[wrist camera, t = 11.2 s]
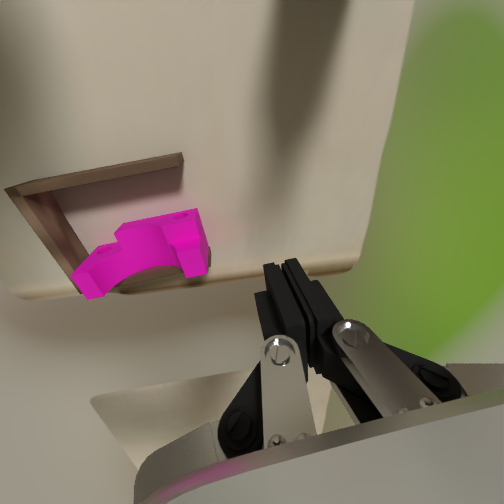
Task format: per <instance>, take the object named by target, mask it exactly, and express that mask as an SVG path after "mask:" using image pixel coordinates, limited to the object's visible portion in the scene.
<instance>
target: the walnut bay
mask: <svg viewBox="0 0 504 504" xmlns="http://www.w3.org/2000/svg"><path fill="white" fill-rule="evenodd" d="M183 161H184V159H183V155H182V152H180V153H175V154H169V155H164V156H159V157H154V158H148V159H143V160H138V161H132V162H127V163H122V164H117V165H111V166H106V167H101V168H96V169H90V170H85V171H80V172H75V173H69V174H64V175H59V176H53V177H48V178H43V179H38V180H32V181H29V182H25V183H22V184H19V185H15V186H12V187H9V188H5V189H4V190H5V192H6V193H7V194H8V196H9V197H10V198H11V200H12V201H13V203H14V204H15V205H16V207H17V208H18V209H19V211H20V212H21V214H22V215H23V216H24V218H25V219H26V220H27V222H28V223H29V225H30V226H31V227H32V229H33V230H34V231H35V233H36V234H37V236H38V237H39V238H40V240H41V241H42V242H43V244H44V245H45V246H46V248H47V249H48V251H49V252H50V253H51V255H52V256H53V257H54V259H55V260H56V262H57V263H58V264H59V266H60V267H61V268H62V270H63V271H64V273H65V274H66V275H67V277H68V278H69V279H70V281H71V282H72V283H73V285H74V286H75V288H76V289H77V290H78V292H79V293H80V294H83V293H82V292H81V290H80V289H79V288H78V286H77V285H76V283H75V282H74V281H73V279H72V278H71V277H70V275H71V274H72V273H73V272H74V271H75V270H76V269H77V268H78V267H79V266H80V265H81V264H82V263H83V262H84V261H85V260H86V258H87V257H88V256H89V254H88V253H87V251H86V249H85V248H84V246H83V245H82V243H81V242H80V240H79V238H78V237H77V235H76V234H75V232H74V230H73V229H72V227H71V226H70V224H69V222H68V221H67V219H66V218H65V216H64V215H63V213H62V211H61V210H60V208H59V207H58V205H57V203H56V202H55V200H54V199H53V197H52V195H51V194H50V192H49V191H51V190H56V189H61V188H67V187H72V186H77V185H82V184H87V183H93V182H98V181H103V180H108V179H113V178H119V177H124V176H129V175H134V174H139V173H145V172H150V171H155V170H160V169H165V168H171V167H176V166H180V165H181V164H182V163H183ZM210 266H211V250H210V247H209V251H208V267H210ZM182 272H184V271H183V270H182V269H181V268H179V267H176V266H168V265H165V266H156V267H152V268H148V269H145V270H142V271H139V272H137V273H135V274H133V275H131V276H129V277H127V278H125V279H123V280H122V281H120V282H119V283H118V284H116V285H115V286H114V287H116V286H121V285H126V284H130V283H135V282H140V281H145V280H149V279H154V278H159V277H163V276H168V275H173V274H177V273H182Z"/></svg>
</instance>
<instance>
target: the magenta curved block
mask: <svg viewBox="0 0 504 504" xmlns="http://www.w3.org/2000/svg"><path fill="white" fill-rule="evenodd" d="M114 235H115V237H116V239H117V240H118V242H115V243H110V244H105V245H101V246H98V247H97V248H96V249H95V250H94V251H93V252H92V253H91V254H90V255H89V256H88V257H87V258H86V260H85V261H84V262H83V263H82V264H81V265H80V266H79V267H78V268H77V269H76V270H75V271H74V272H73V273H72V274H71V275H70V277H71V278H72V279H73V281H74V282H75V283H76V285H77V286H78V288H79V289H80V290H81V292H82V293H83V294H84V296H85V297H86V298H87V300H89V299H94V298H98V297H103V296H105V294H106V293H107V292H108V291H109V290H110V289H111V288H112V287H114V286H115V285H116V284H118V283H119V282H120V281H122V280H123V279H125V278H127V277H129V276H131V275H133V274H135V273H137V272H139V271H142V270H145V269H148V268H152V267H156V266H165V265H168V266H176V267H179V268H181V269H182V270H183V271H184V274H185V276H186V278H190V277H195V276H199V275H204V274H207V270H208V251H209V246H208V242H207V239H206V236H205V232H204V229H203V226H202V223H201V219H200V216H199V213H198V209H197V208H195V209H190V210H186V211H181V212H176V213H171V214H166V215H161V216H156V217H151V218H147V219H142V220H137V221H132V222H127V223H123V224H122V225H121V226H120V227H119V228H118V229H117V231H116V232H115V233H114Z"/></svg>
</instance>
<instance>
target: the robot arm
mask: <svg viewBox="0 0 504 504" xmlns="http://www.w3.org/2000/svg"><path fill="white" fill-rule="evenodd" d="M263 268H264V275H265V282H266V289H267V291H262V292H258V293H254V295H255V301H256V306H257V311H258V315H259V320H260V324H261V328H262V332H263V336H264V341H265V342H264V343H263V345H262V347H261V351H260V362H259V363H258V364H257V366H256V367H255V369H254V370H253V372H252V373H251V374H250V376H249V377H248V379H247V380H246V382H245V383H244V385H243V386H242V387H241V389H240V390H239V392H238V393H237V395H236V396H235V398H234V399H233V400H232V402H231V403H230V405H229V406H228V408H227V409H226V411H225V412H224V413H223V415H222V417H221V419H219V420H217V421H216V422H214V423H212V424H210V423H209V422H208V423H207V424H205V425H203V426H201V427H199V428H197V429H195V430H193V431H192V432H190V433H188V434H186V435H184V436H182V437H180V438H179V439H177V440H175V441H173V442H171V443H169V444H167V445H165V446H164V447H162V448H160V449H158V450H156V451H154V452H153V453H152V454H151V455H149V456H148V457H147V458H146V459H145V461H144V462H143V463H142V465H141V466H140V469H139V471H138V473H137V475H136V480H135V485H134V504H504V364H446V366H441V365H439V364H437V363H434V362H432V361H430V360H427V359H425V358H422V357H420V356H417V355H414V354H412V353H409V352H407V351H404V350H402V349H399V348H396V347H394V346H391V345H389V344H386V343H384V342H382V341H381V340H380V339H379V338H378V337H377V336H376V334H375V333H373V331H372V330H371V329H370V328H369V327H367V326H366V325H365V324H363V323H361V322H359V321H356V320H352V319H346V320H344V318H343V317H342V316H341V314H340V313H339V311H338V309H337V308H336V306H335V305H334V304H333V302H332V300H331V299H330V297H329V296H328V294H327V293H326V291H325V290H324V288H323V287H322V285H321V284H320V282H319V281H318V280H313V281H310V280H309V278H308V277H307V275H306V273H305V272H304V270H303V268H302V267H301V265H300V264H299V262H298V260H297V259H296V258H292V259H288V260H285V263H282V264H281V268H282V270H281V268H280V266H279V264H278V265H275V264H274V262H273V263H269V264H264V265H263ZM308 365H309V367H310V368H311V367H314V369H315V372H316V374H322V376H323V377H324V378H326V379H328V380H330V383H331V386H332V388H333V389H334V391H335V392H336V394H337V396H338V397H339V399H340V401H341V402H342V404H343V405H344V407H345V408H346V410H347V412H348V414H349V415H350V417H351V419H352V420H353V422H354V423H355V425H354V426H350V427H346V428H342V429H338V430H335V431H331V432H327V433H323V434H319V435H317V433H316V429H315V424H314V419H313V414H312V409H311V404H310V400H309V395H308V390H307V385H306V384H307V381H308Z"/></svg>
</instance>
